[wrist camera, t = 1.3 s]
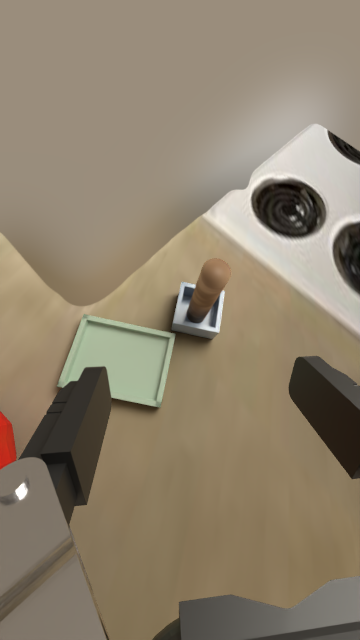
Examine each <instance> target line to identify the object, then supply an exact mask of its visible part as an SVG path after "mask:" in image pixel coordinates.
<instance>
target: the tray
mask: <svg viewBox="0 0 360 640" xmlns="http://www.w3.org/2000/svg"><path fill="white" fill-rule="evenodd" d="M175 335H176V334H174V333H169V332H164V331H160V330H155V329H151V328H146V327H141V326H137V325H132V324H127V323H123V322H118V321H113V320H109V319H104V318H99V317H95V316H90V315H86V314H84V315H83V317H82V320H81V323H80V325H79V328H78V331H77V334H76V336H75V339H74V342H73V344H72V347H71V350H70V352H69V355H68V358H67V361H66V363H65V366H64V369H63V371H62V374H61V377H60V379H59V382H58V385H57V387H62V388H63V387H64V386H65V385H67V384H68V383H69V382H70V381H78V379H79V378H80V376H81V374H82V372H83V370H84V368H85V367H100V366H105V367H106V369H107V374H108V380H109V386H110V392H111V398H116V399H121V400H126V401H131V402H135V403H140V404H145V405H150V406H155V407H161V402H162V397H163V392H164V387H165V383H166V378H167V373H168V368H169V363H170V359H171V354H172V349H173V344H174V340H175Z"/></svg>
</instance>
